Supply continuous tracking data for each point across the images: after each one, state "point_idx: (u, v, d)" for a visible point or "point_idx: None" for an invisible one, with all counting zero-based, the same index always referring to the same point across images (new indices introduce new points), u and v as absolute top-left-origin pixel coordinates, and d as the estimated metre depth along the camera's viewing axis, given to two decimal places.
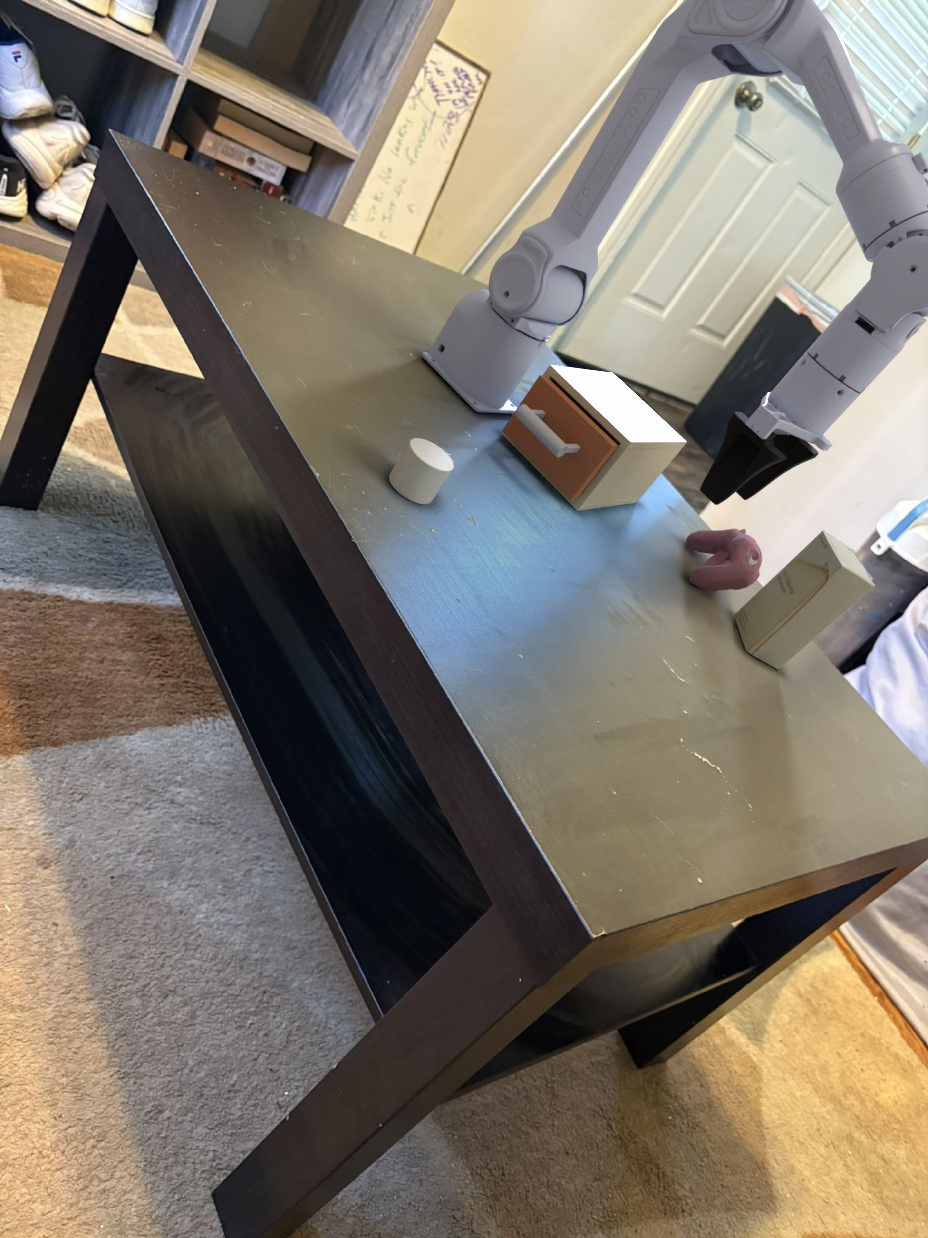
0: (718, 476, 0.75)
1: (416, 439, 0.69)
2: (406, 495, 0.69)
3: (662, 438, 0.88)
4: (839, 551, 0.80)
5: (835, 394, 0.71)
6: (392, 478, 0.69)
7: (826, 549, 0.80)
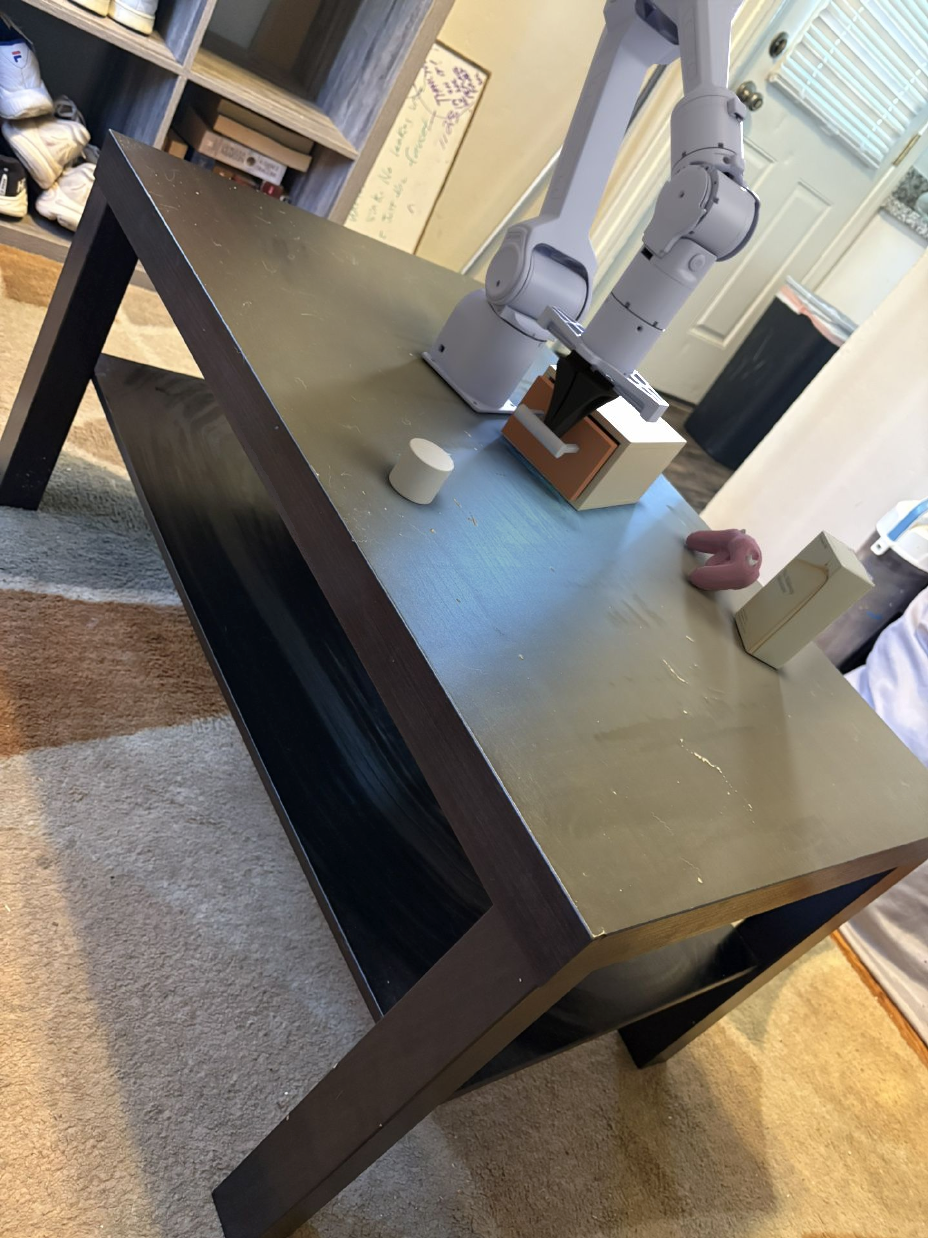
0: None
1: (416, 439, 0.69)
2: (406, 495, 0.69)
3: (662, 438, 0.88)
4: (839, 551, 0.80)
5: (604, 302, 0.75)
6: (392, 478, 0.69)
7: (826, 549, 0.80)
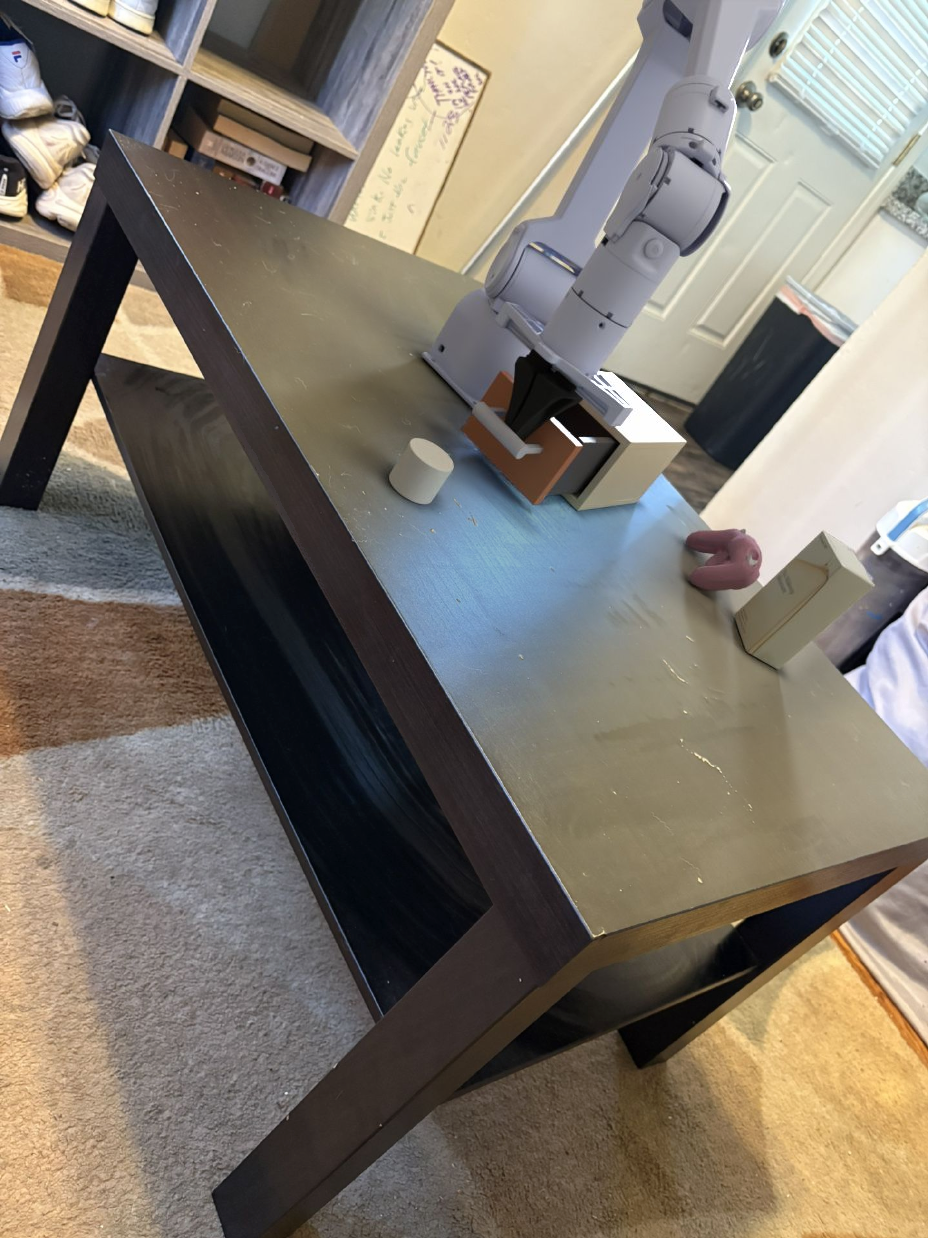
0: None
1: (416, 439, 0.69)
2: (406, 495, 0.69)
3: (662, 438, 0.88)
4: (839, 551, 0.80)
5: (564, 298, 0.70)
6: (392, 478, 0.69)
7: (826, 549, 0.80)
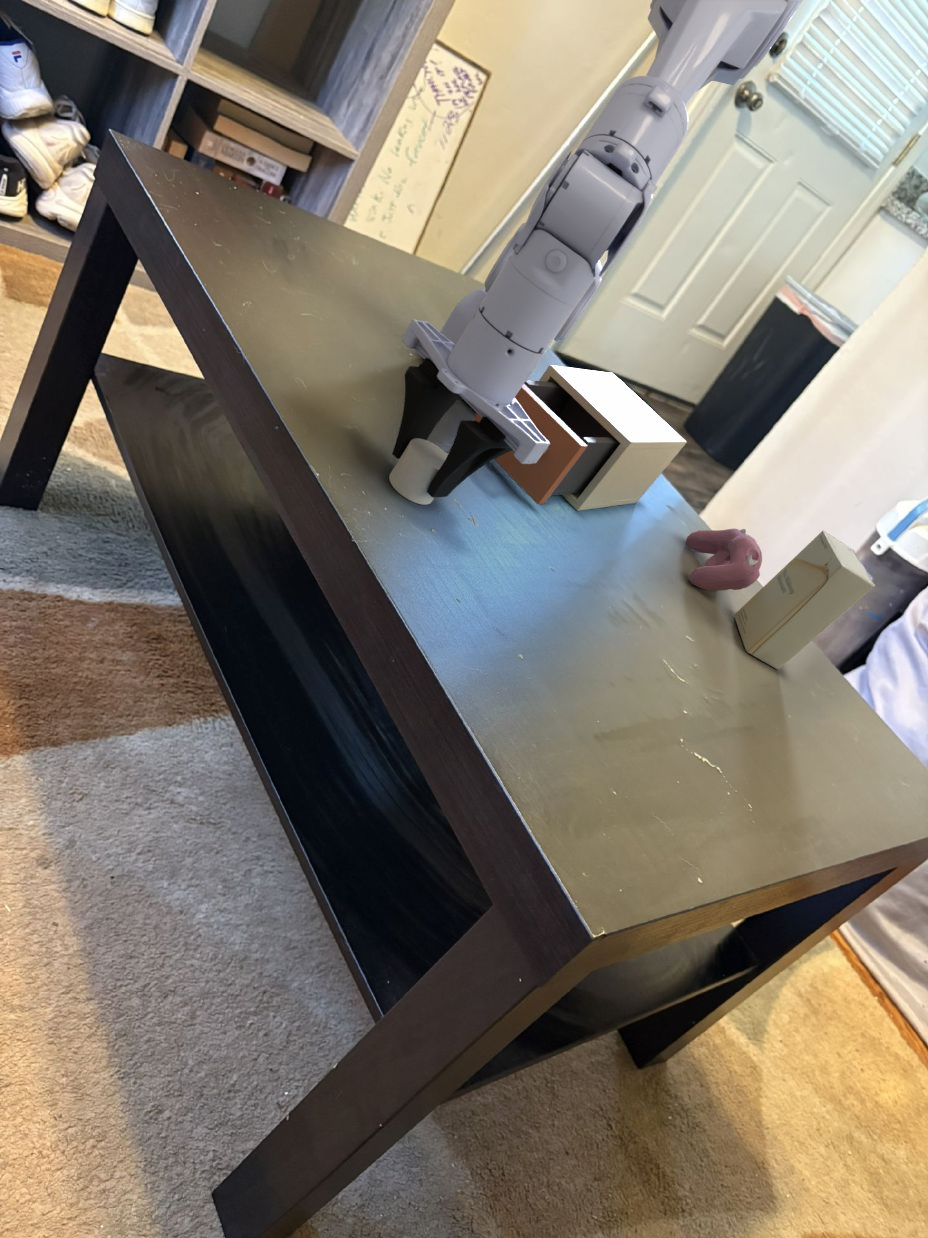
0: None
1: (416, 439, 0.69)
2: (406, 495, 0.69)
3: (662, 438, 0.88)
4: (839, 551, 0.80)
5: (471, 319, 0.62)
6: (392, 479, 0.69)
7: (826, 549, 0.80)
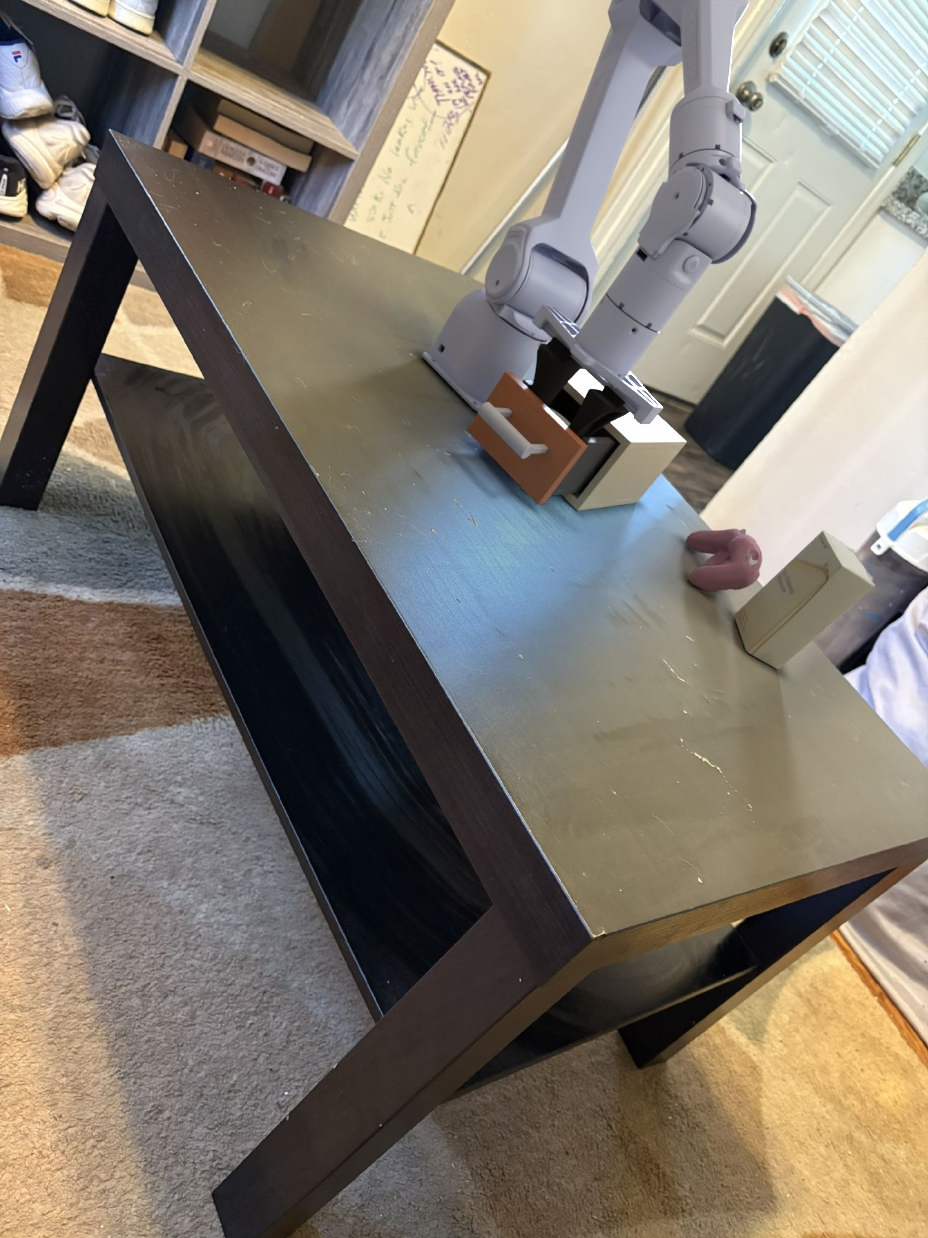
0: None
1: None
2: None
3: (662, 438, 0.88)
4: (839, 551, 0.80)
5: (599, 303, 0.75)
6: None
7: (826, 549, 0.80)
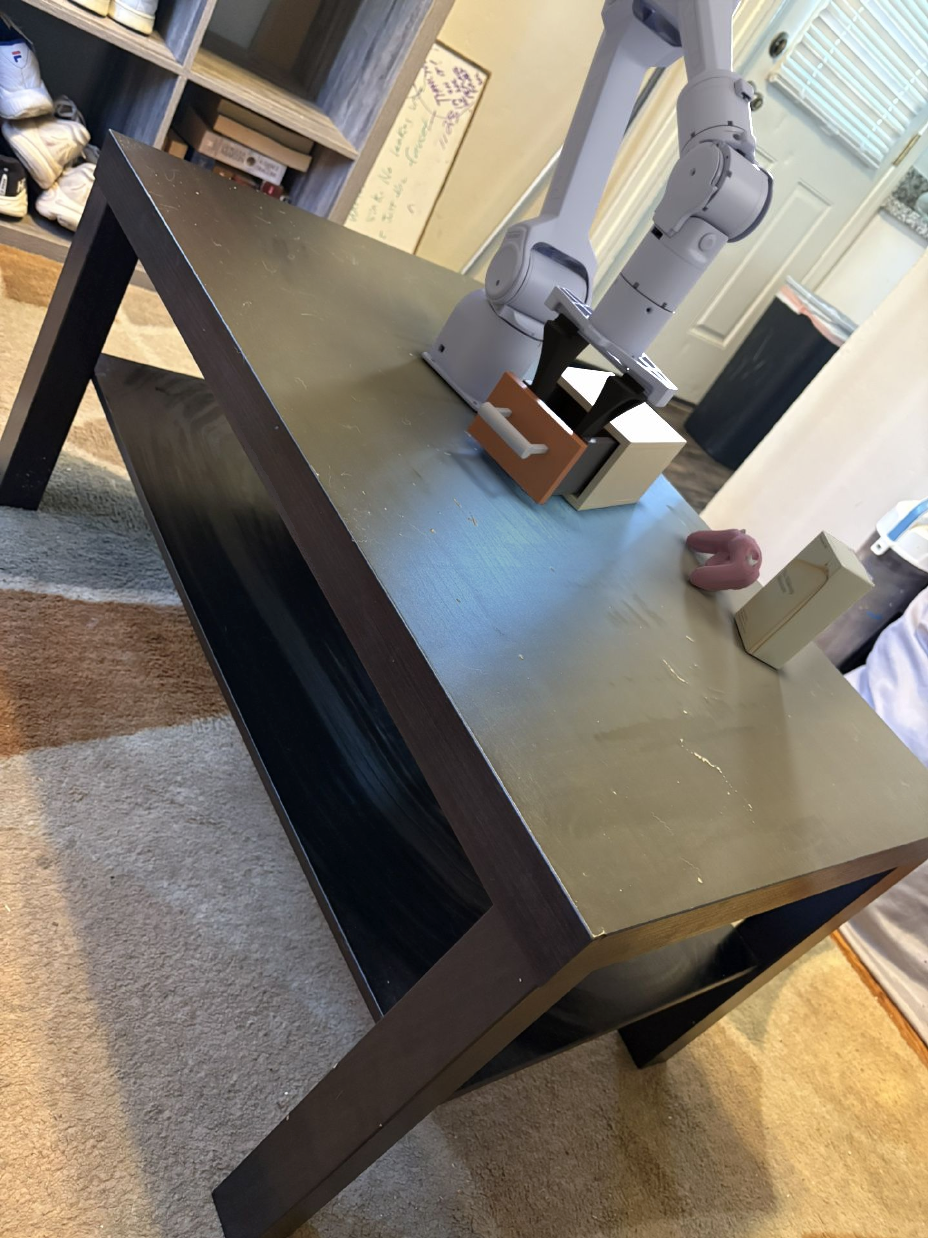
0: None
1: None
2: None
3: (662, 438, 0.88)
4: (839, 551, 0.80)
5: (613, 283, 0.74)
6: None
7: (826, 549, 0.80)
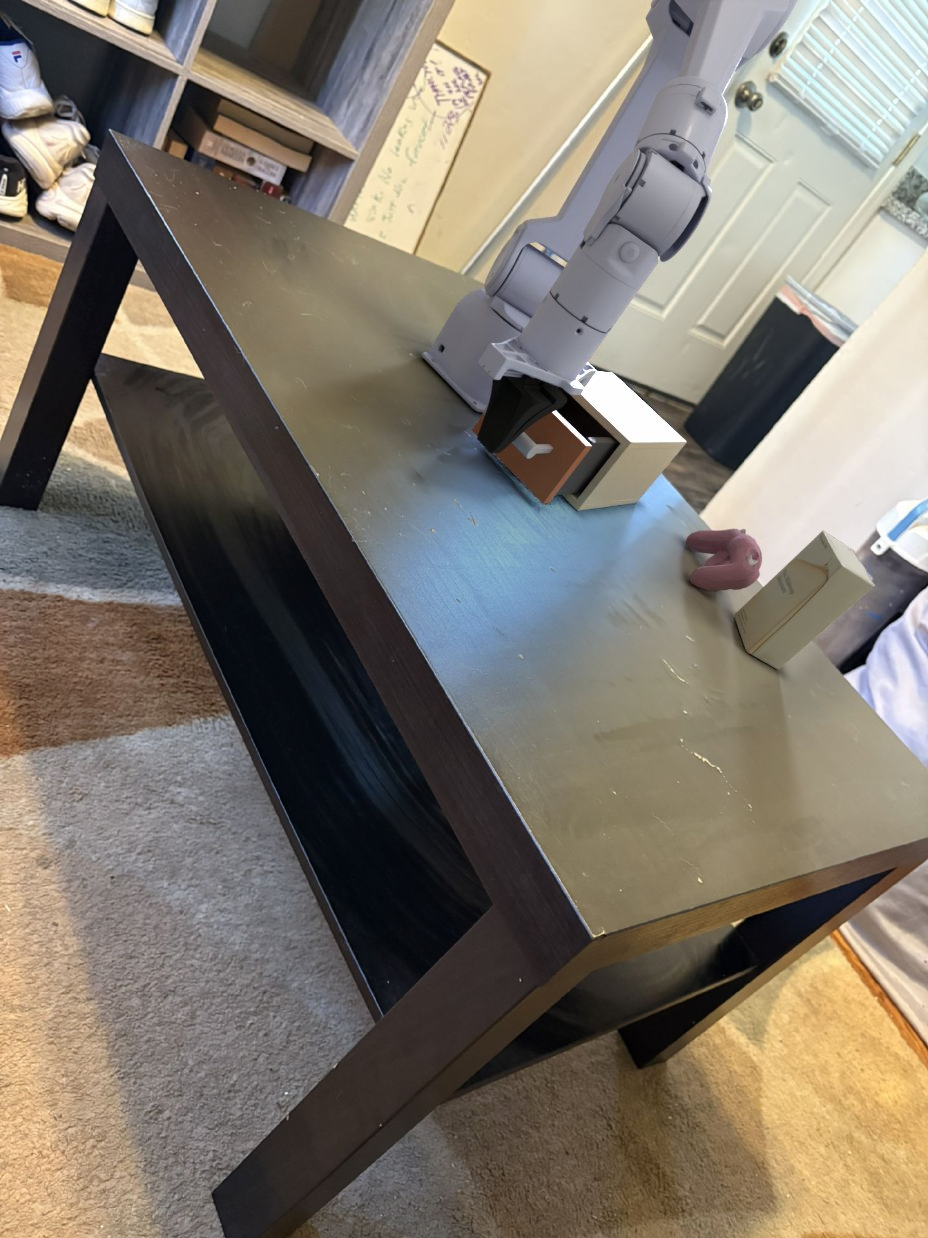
0: (491, 423, 0.74)
1: None
2: None
3: (662, 438, 0.88)
4: (839, 551, 0.80)
5: (574, 333, 0.67)
6: None
7: (826, 549, 0.80)
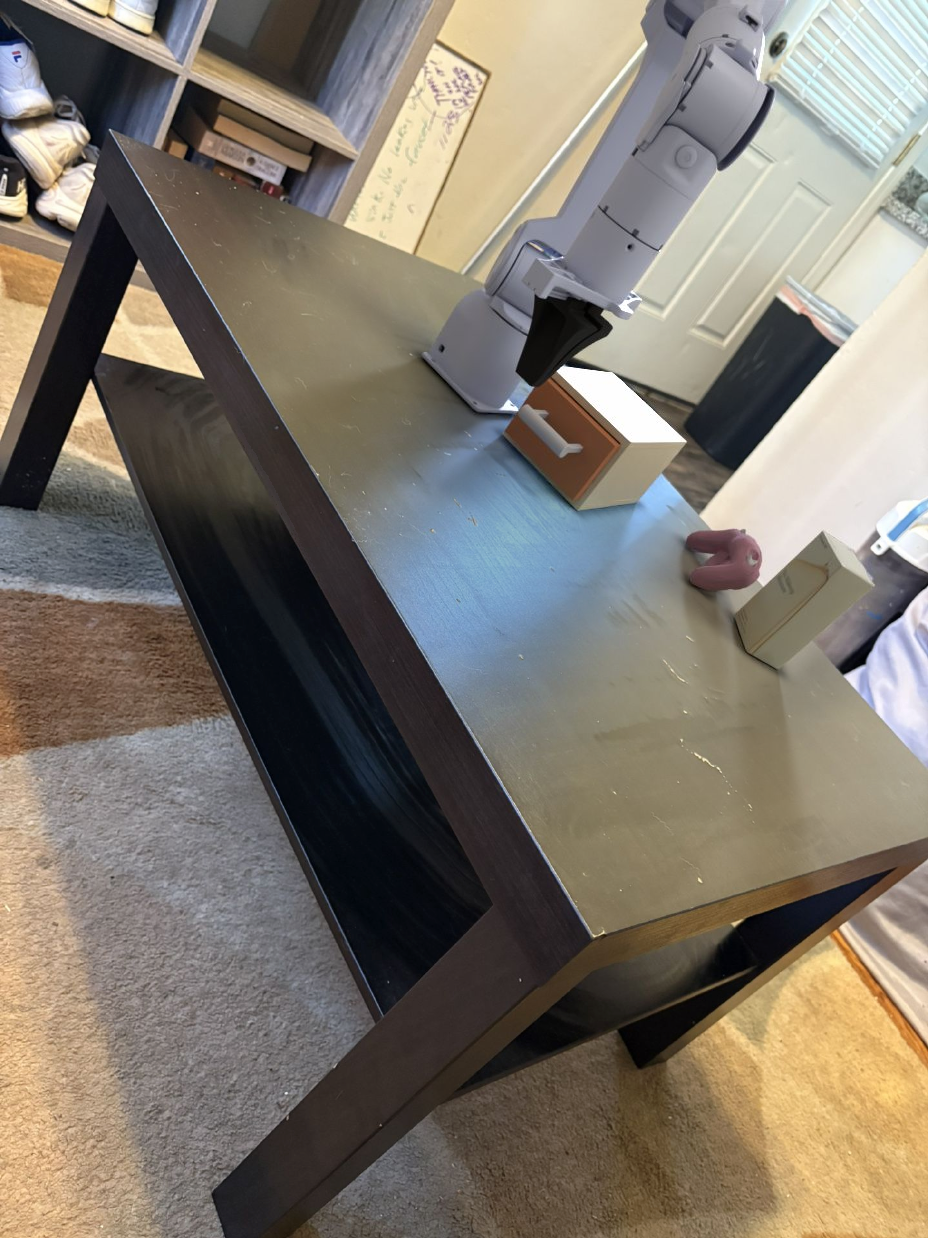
0: (531, 354, 0.70)
1: None
2: None
3: (662, 438, 0.88)
4: (839, 551, 0.80)
5: (625, 249, 0.63)
6: None
7: (826, 549, 0.80)
